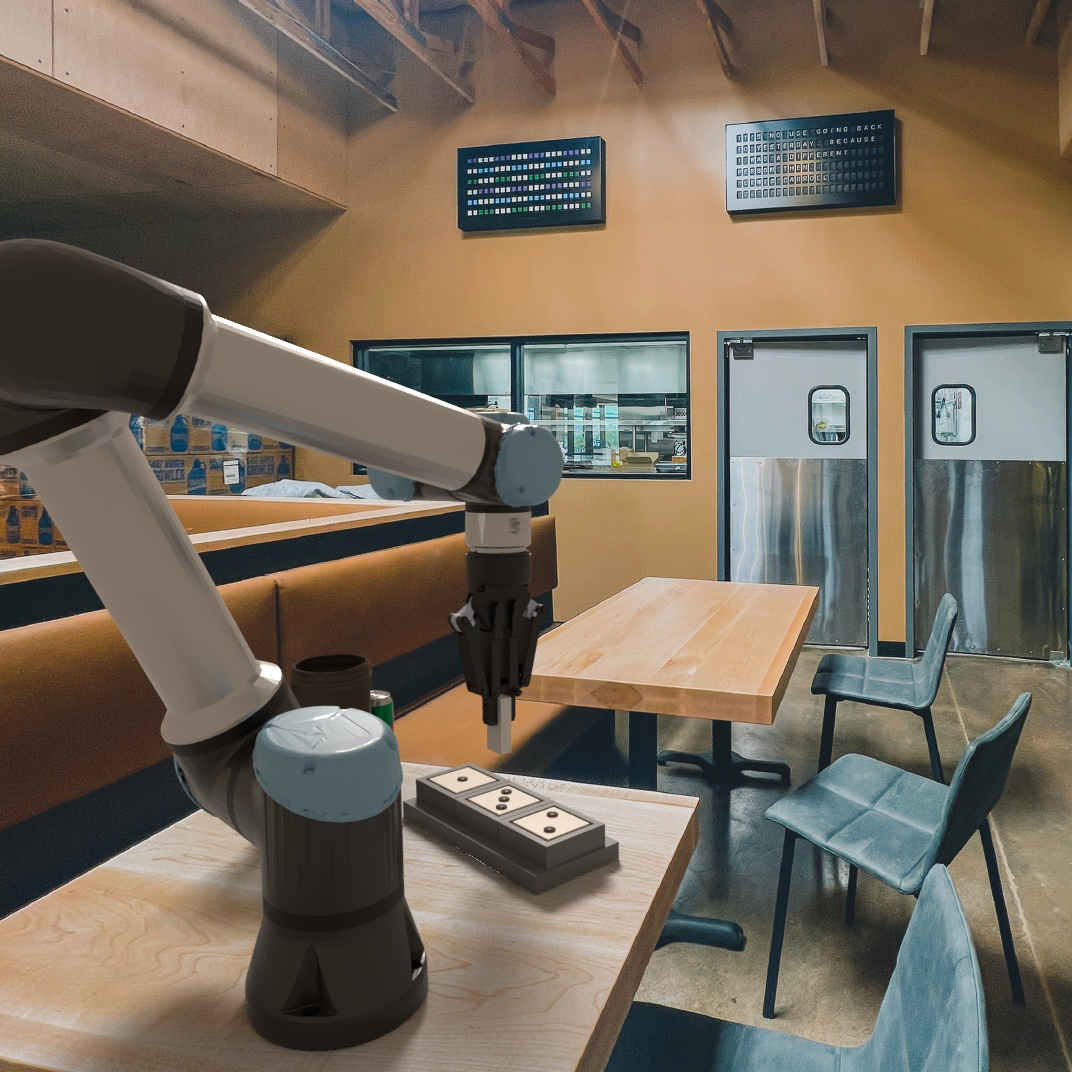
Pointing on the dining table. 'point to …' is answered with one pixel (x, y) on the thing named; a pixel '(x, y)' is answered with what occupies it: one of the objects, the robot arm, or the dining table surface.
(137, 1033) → the dining table surface
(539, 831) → the tile two dots
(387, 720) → the soda can
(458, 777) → the tile one dot
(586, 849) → the button panel
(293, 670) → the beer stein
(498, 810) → the tile three dots
